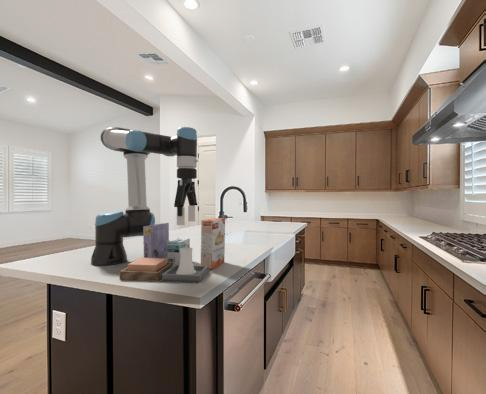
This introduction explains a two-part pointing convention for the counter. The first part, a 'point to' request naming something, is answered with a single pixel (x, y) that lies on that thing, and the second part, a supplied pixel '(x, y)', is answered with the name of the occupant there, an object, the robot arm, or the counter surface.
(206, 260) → the cracker box
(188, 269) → the vase
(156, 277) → the wooden square frame
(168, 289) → the counter surface
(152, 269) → the orange square slab
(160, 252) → the cake pan box
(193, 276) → the tray
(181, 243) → the light bulb box
